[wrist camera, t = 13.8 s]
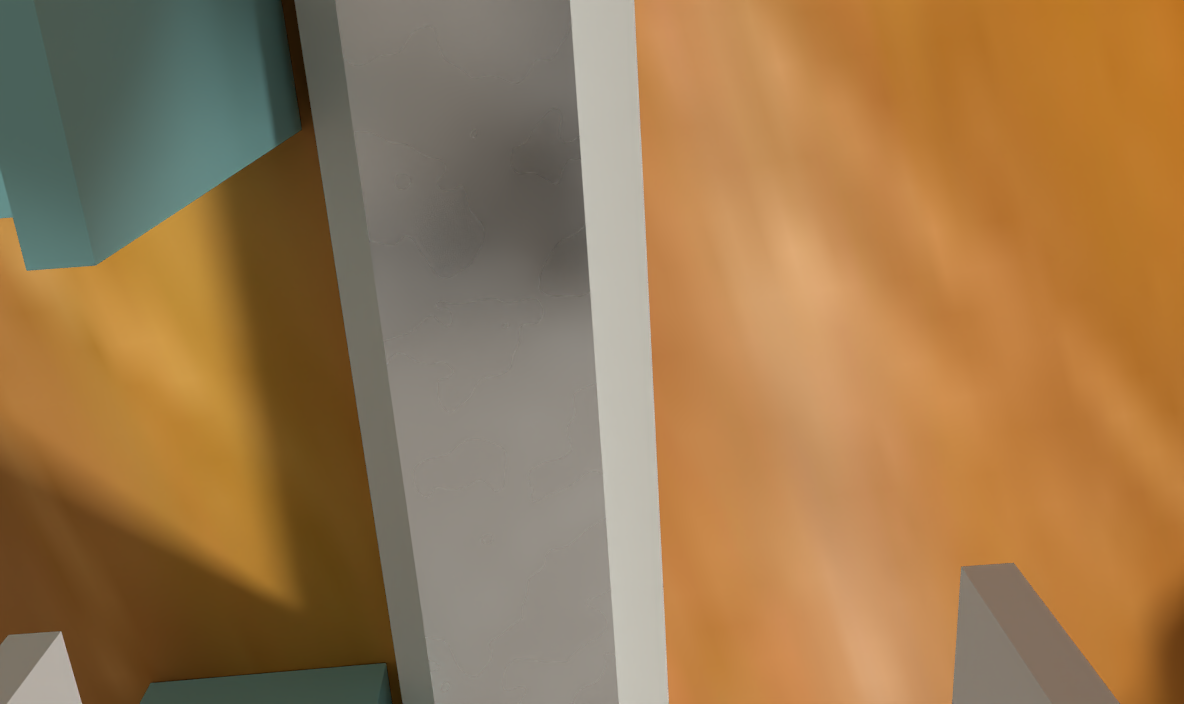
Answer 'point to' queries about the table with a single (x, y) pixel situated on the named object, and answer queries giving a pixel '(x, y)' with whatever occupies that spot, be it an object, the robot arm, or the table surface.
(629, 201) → the white flat board
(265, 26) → the post
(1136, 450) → the table surface
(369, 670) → the post
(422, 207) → the rail
